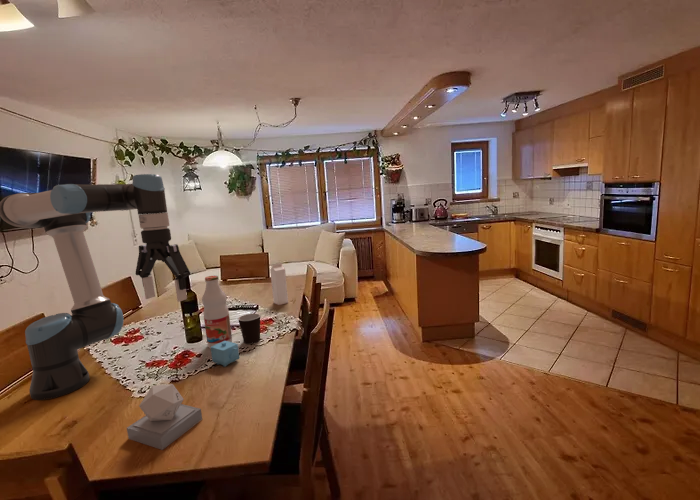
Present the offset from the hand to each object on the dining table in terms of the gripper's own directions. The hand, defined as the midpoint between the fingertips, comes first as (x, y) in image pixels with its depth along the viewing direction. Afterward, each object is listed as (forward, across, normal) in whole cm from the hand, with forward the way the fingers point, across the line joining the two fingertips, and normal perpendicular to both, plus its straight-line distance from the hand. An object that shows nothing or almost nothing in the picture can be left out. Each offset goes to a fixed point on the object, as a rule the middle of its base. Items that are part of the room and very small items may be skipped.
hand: (166, 299), depth 106 cm
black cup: (+29, -2, +38) cm, 48 cm away
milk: (+29, -20, +84) cm, 91 cm away
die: (+26, +14, -16) cm, 33 cm away
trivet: (+29, +14, -16) cm, 36 cm away
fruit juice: (+29, -12, +30) cm, 43 cm away
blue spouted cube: (+29, +3, +18) cm, 34 cm away
